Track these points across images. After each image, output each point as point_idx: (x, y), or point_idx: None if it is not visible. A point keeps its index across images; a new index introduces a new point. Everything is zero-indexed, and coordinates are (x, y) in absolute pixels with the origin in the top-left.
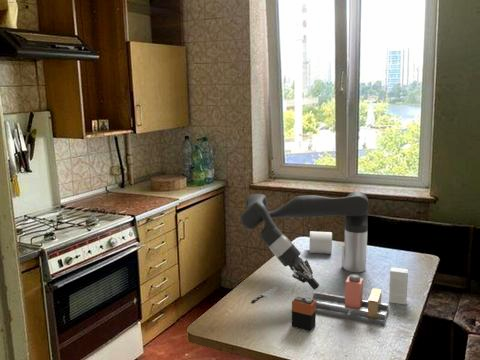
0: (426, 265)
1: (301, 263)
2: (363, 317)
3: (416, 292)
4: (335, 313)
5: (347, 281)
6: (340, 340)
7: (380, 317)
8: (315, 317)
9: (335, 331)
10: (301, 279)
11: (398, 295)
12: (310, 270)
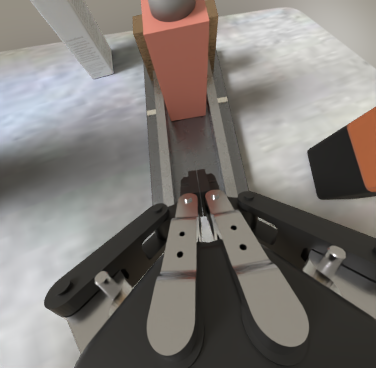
0: None
1: (197, 314)
2: (220, 73)
3: (52, 53)
4: (233, 127)
5: (203, 17)
6: (322, 88)
7: None
8: (328, 137)
9: (295, 108)
10: (268, 232)
11: (101, 41)
12: (152, 220)
